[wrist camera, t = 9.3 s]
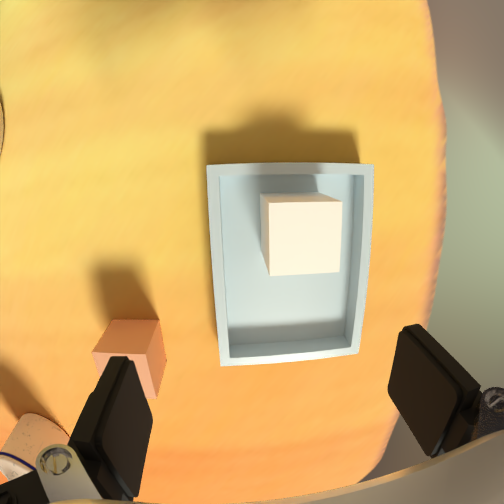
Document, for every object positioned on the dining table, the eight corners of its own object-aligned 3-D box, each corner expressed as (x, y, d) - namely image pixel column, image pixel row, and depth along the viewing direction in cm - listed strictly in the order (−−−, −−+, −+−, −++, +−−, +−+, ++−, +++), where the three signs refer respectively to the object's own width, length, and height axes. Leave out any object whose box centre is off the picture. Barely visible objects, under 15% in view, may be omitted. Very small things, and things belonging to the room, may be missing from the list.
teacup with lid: (9, 408, 30) (-26, 464, 18) (53, 411, 30) (18, 478, 18) (52, 463, 33) (30, 517, 22) (97, 468, 33) (78, 530, 22)
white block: (259, 193, 24) (268, 202, 18) (318, 192, 24) (342, 201, 19) (261, 251, 25) (269, 276, 20) (317, 248, 25) (339, 272, 20)
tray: (208, 164, 23) (206, 165, 21) (360, 163, 24) (373, 164, 22) (221, 349, 28) (220, 366, 25) (348, 338, 29) (358, 353, 26)
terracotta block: (112, 319, 26) (91, 352, 21) (159, 319, 27) (145, 354, 21) (122, 359, 28) (106, 395, 22) (166, 360, 28) (156, 398, 23)
